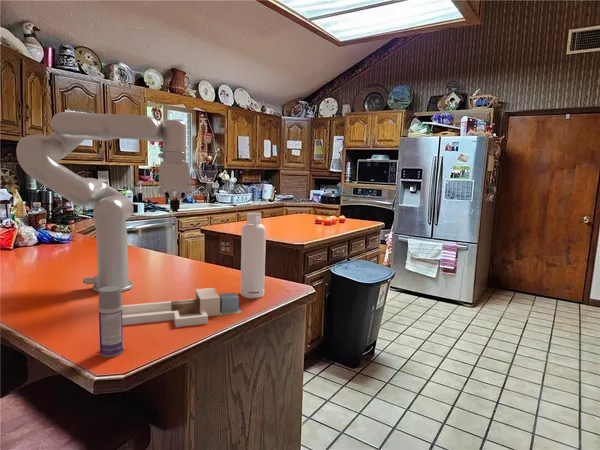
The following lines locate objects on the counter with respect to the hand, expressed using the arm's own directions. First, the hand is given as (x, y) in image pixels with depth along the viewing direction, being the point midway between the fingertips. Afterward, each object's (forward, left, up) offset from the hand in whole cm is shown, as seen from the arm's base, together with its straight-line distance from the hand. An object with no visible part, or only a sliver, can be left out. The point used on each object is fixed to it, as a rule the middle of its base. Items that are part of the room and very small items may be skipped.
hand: (174, 211), depth 135 cm
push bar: (+4, -27, -27) cm, 38 cm away
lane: (-1, -30, -27) cm, 40 cm away
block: (+13, -27, -27) cm, 40 cm away
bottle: (+24, -15, -27) cm, 39 cm away
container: (-18, -47, -27) cm, 57 cm away
